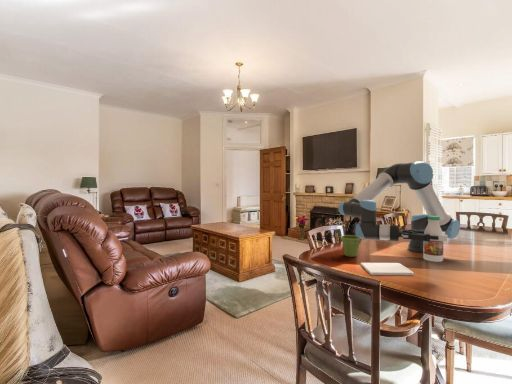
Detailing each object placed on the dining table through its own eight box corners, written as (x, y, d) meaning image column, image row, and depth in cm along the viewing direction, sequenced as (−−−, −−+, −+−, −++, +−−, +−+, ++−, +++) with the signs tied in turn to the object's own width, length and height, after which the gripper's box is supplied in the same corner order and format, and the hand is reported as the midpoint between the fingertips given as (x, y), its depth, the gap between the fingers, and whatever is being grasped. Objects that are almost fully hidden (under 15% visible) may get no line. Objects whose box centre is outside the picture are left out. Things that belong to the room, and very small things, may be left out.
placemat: (399, 265, 150) (399, 262, 150) (414, 275, 134) (414, 272, 134) (360, 264, 151) (360, 262, 151) (371, 274, 135) (371, 272, 135)
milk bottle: (419, 257, 132) (419, 215, 131) (434, 257, 132) (435, 214, 132) (431, 262, 124) (431, 217, 123) (447, 261, 125) (448, 216, 124)
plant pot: (362, 258, 163) (362, 239, 163) (341, 257, 165) (341, 238, 165) (359, 253, 175) (359, 235, 174) (339, 252, 177) (339, 234, 177)
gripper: (390, 236, 145) (443, 240, 135) (388, 244, 128) (449, 250, 117) (390, 222, 145) (443, 224, 134) (388, 228, 127) (449, 232, 116)
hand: (446, 236), depth 126 cm, fingers closed on milk bottle, 7 cm apart
